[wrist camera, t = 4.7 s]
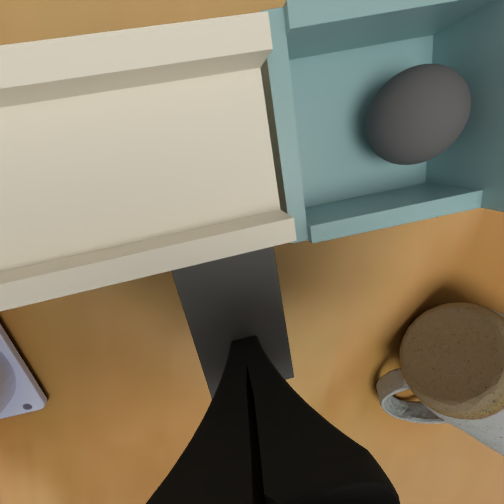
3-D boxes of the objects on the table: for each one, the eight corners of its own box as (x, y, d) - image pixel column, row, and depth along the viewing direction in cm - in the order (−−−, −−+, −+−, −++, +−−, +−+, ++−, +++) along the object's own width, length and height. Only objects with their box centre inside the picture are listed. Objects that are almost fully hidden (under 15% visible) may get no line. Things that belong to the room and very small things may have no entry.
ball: (487, 154, 11) (404, 158, 15) (502, 43, 10) (406, 77, 14) (422, 172, 10) (348, 172, 14) (428, 49, 9) (344, 84, 12)
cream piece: (8, 444, 12) (-61, 548, 9) (-238, 120, 7) (-585, 88, 4) (296, 359, 14) (326, 421, 11) (249, 50, 9) (279, -14, 6)
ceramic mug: (440, 275, 18) (585, 355, 11) (508, 323, 20) (665, 415, 13) (344, 382, 21) (410, 505, 13) (414, 414, 23) (503, 533, 16)
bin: (275, 225, 15) (309, 264, 10) (249, 49, 12) (275, -40, 7) (431, 193, 16) (547, 212, 10) (442, 16, 13) (616, -93, 7)
